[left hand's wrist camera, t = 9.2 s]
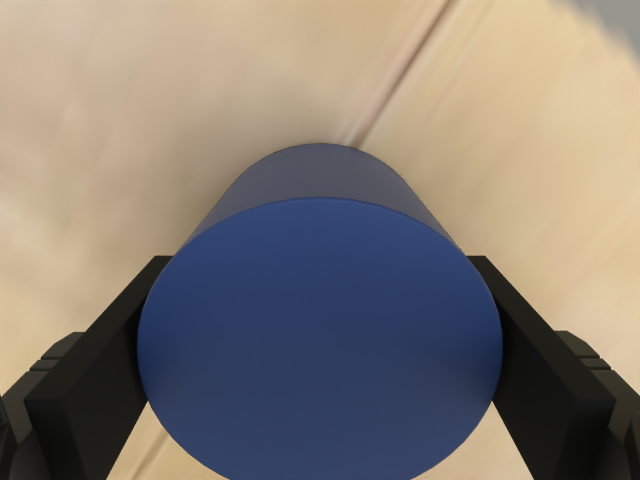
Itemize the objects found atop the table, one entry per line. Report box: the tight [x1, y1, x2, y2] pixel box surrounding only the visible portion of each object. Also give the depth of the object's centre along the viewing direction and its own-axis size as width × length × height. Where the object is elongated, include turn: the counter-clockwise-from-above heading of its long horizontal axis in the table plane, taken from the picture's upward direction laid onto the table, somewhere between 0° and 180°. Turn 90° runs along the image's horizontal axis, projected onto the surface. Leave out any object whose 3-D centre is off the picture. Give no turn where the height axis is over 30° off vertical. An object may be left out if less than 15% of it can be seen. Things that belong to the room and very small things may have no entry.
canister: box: [137, 144, 503, 480], centre depth 14 cm, size 9×9×8 cm
